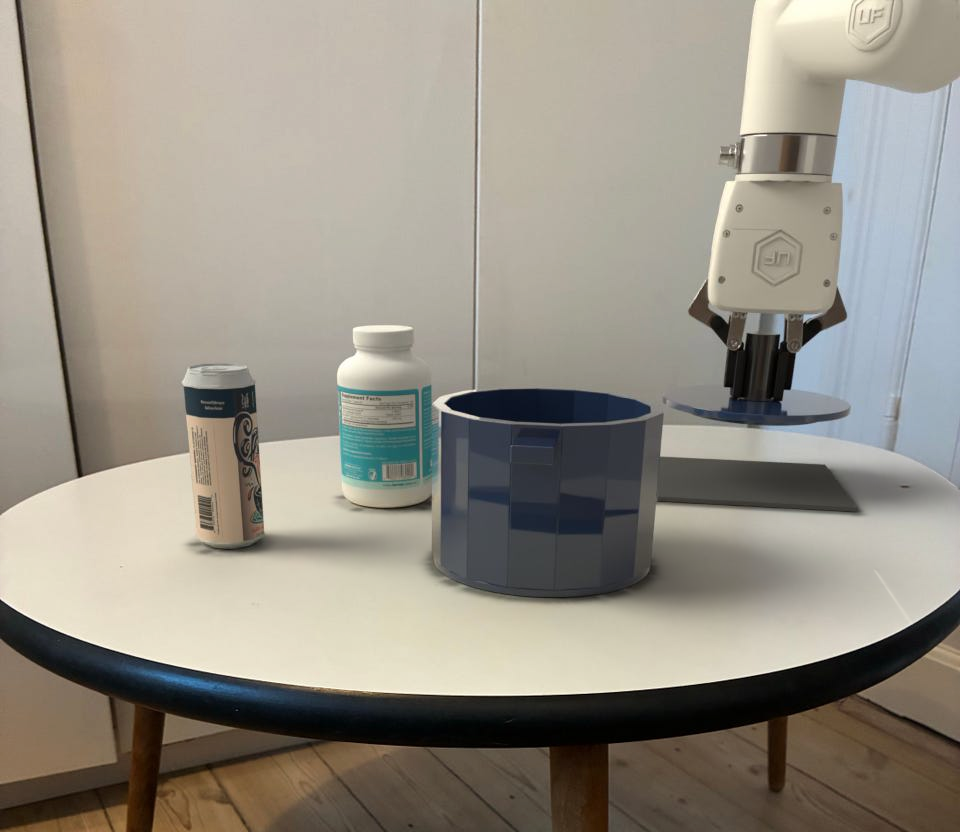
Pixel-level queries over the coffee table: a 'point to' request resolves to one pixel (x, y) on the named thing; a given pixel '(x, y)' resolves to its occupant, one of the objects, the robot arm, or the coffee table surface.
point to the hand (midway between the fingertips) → (755, 395)
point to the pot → (544, 489)
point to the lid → (757, 394)
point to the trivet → (751, 484)
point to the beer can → (224, 454)
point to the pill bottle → (385, 419)
